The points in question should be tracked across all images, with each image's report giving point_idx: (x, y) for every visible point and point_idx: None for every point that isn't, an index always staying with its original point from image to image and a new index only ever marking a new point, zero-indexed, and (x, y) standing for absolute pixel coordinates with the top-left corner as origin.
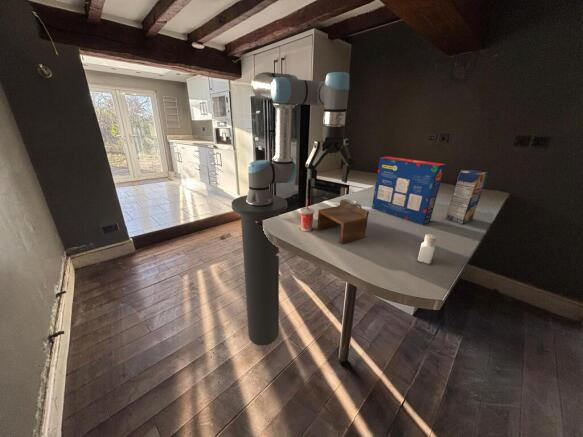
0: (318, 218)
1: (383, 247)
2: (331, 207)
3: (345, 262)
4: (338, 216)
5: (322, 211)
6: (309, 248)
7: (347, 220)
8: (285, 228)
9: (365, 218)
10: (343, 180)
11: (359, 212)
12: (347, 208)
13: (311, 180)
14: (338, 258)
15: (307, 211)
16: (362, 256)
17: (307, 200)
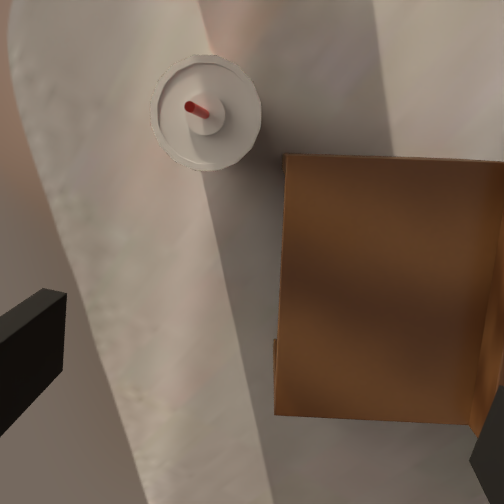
0: (284, 161)
1: (413, 463)
2: (416, 163)
3: (180, 457)
4: (322, 326)
5: (289, 199)
6: (113, 307)
7: (321, 400)
8: (114, 47)
9: (458, 421)
10: (492, 436)
11: (483, 374)
12: (497, 256)
13: (2, 318)
14: (175, 426)
15: (192, 135)
16: (272, 463)
17: (187, 107)
